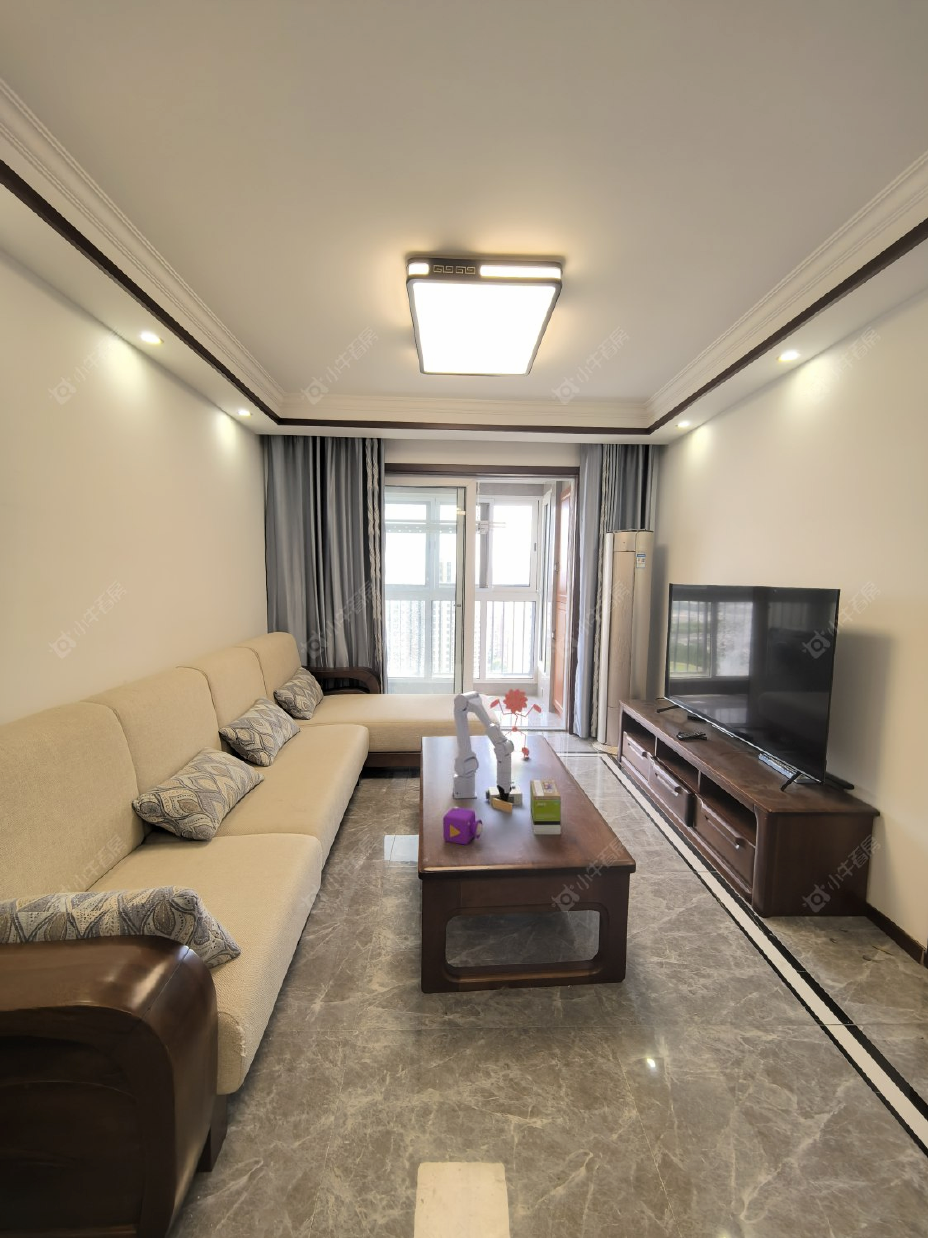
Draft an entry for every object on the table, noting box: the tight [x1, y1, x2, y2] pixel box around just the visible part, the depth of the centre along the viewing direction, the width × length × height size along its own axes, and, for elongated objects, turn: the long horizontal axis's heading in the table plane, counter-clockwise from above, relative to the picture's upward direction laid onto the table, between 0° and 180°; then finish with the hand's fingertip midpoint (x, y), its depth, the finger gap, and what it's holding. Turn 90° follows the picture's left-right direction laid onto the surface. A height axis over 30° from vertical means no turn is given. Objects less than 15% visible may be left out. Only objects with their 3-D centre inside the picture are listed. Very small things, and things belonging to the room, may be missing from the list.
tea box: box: [529, 779, 562, 835], centre depth 201 cm, size 15×10×15 cm, turn 178°
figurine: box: [489, 688, 542, 761], centre depth 277 cm, size 15×26×35 cm, turn 86°
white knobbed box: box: [485, 785, 523, 806], centre depth 223 cm, size 14×8×5 cm, turn 96°
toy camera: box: [442, 805, 483, 845], centre depth 191 cm, size 11×14×10 cm
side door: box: [490, 797, 513, 814], centre depth 215 cm, size 10×1×4 cm, turn 51°
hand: (504, 803), depth 216 cm, fingers closed
